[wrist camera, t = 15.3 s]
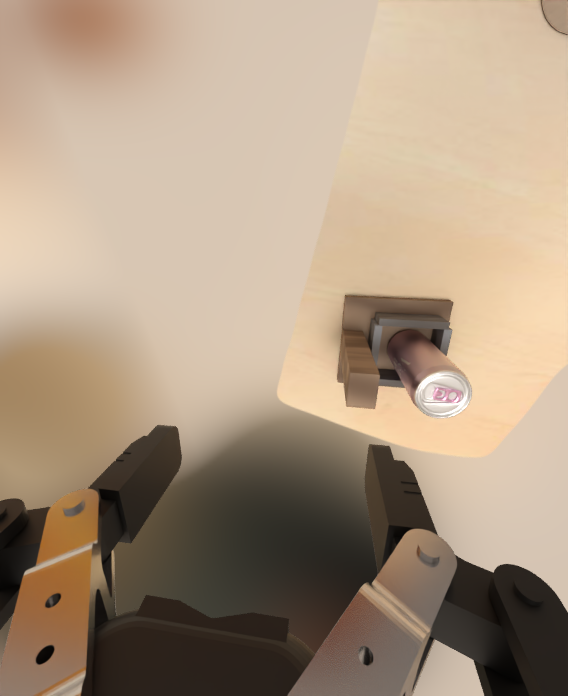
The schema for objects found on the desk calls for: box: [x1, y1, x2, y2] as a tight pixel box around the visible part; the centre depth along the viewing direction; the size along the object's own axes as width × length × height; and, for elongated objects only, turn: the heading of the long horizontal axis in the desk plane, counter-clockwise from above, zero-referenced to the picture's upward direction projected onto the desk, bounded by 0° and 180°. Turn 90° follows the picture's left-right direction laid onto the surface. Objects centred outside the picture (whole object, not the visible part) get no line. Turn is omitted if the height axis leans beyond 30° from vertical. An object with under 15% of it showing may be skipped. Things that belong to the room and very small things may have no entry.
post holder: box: [337, 295, 453, 409], centre depth 38 cm, size 14×15×18 cm
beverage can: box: [387, 330, 472, 418], centre depth 38 cm, size 6×6×15 cm
